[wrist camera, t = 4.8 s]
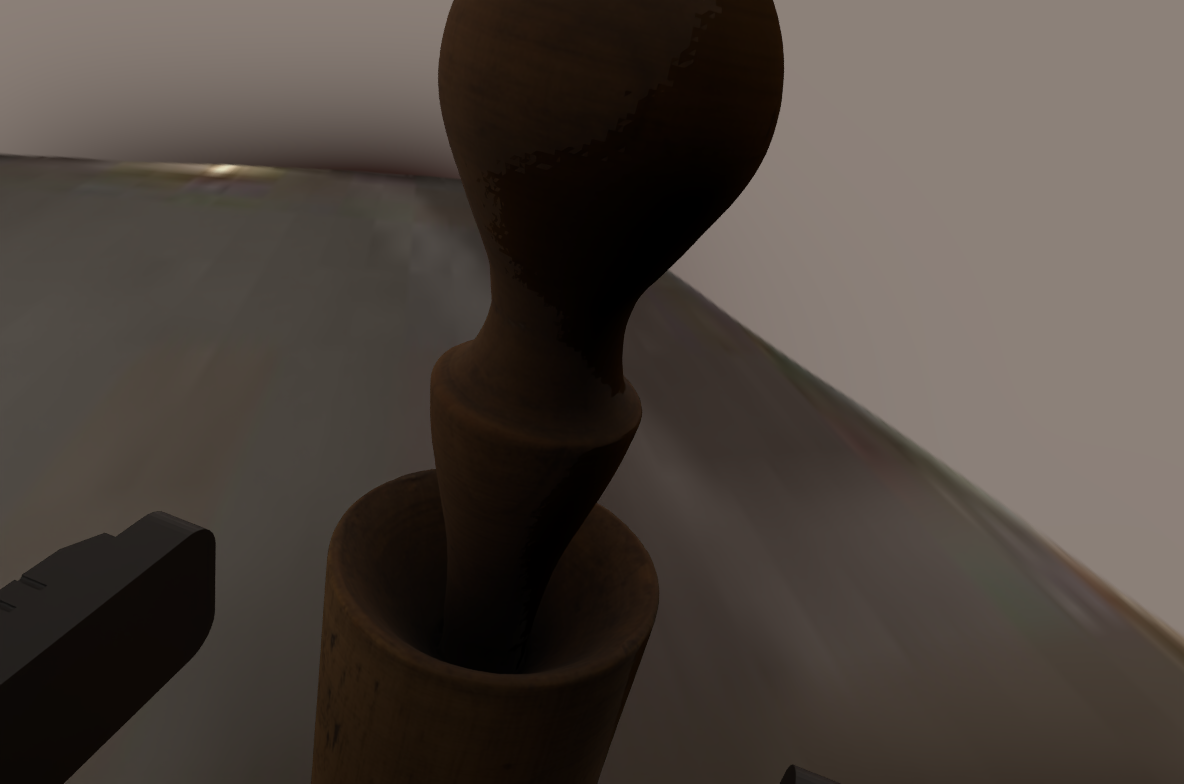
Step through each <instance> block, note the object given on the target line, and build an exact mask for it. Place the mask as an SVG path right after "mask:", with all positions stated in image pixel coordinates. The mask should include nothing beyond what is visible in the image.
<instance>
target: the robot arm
mask: <svg viewBox="0 0 1184 784" xmlns="http://www.w3.org/2000/svg"><path fill="white" fill-rule="evenodd" d="M215 548H216V544H215V537H214V535H213V533H212V532H211V531H210V530H207V529H205V528H202V527H200V526H197V525H195V524H192V523H190V522H187V521H185V520H182V519H180V518H177V517H175V516H172V515H170V514H167V513H165V512H162V511H157V512H152V513H150V514H148V515H146V516H145V517H143V518H142V519H140V520H139V521H137V522H136V523H134V524H133V525H132V526H130V527H129V528H127V529H126V530H125V531H123V532H122V533H120V534H119V535H118V536H116V537H114V536H112V535H109V534H107V533H103V534H100V535H98V536H95V537H92V538H89V539H87V540H84V541H81V542H78V543H76V544H73V545H70V546H67V547H65V548H62V549H59V550H58V551H56V552H55V553H53V554H52V555H51V556H49V557H48V558H46V559H45V560H43V561H42V562H40V563H39V564H37V565H36V566H34V567H33V568H31V569H30V570H28V571H27V572H25V573H24V574H22V577H21V579H20V580H19V581H16V580H14V581H12V582H11V583H9V584H8V585H6V586H5V587H3V588H2V589H0V784H64V783H65V782H66V781H67V780H68V779H69V778H70V777H71V776H72V775H73V774H74V773H75V772H76V771H77V770H78V769H79V768H80V767H81V766H82V765H83V764H84V763H85V762H86V761H87V760H88V759H89V758H90V757H91V756H92V755H93V754H94V753H95V752H96V751H97V750H98V749H99V748H100V747H101V746H103V745H104V744H105V743H106V742H107V741H108V740H109V739H110V738H111V737H112V736H113V735H114V734H115V733H116V732H117V731H118V730H119V729H120V728H121V727H122V726H123V725H124V724H125V723H126V722H127V721H128V720H129V719H130V718H131V717H132V716H133V715H134V714H135V713H136V712H137V711H138V710H139V709H140V708H141V707H142V706H143V705H144V704H146V703H147V702H148V701H149V700H150V699H151V698H152V697H153V696H154V695H155V694H156V693H157V692H158V691H159V690H160V689H161V688H162V687H163V686H164V685H165V684H166V683H167V682H168V681H169V680H170V679H171V678H172V677H173V676H174V675H175V674H176V673H177V672H178V671H179V670H180V669H181V668H182V667H183V666H184V665H185V664H186V663H188V662H189V661H190V660H191V658H192V657H193V656H194V655H195V654H196V653H197V652H198V650H199V649H200V647H201V646H202V644H203V643H204V641H205V639H206V638H207V636H208V633H209V631H210V629H211V626H212V623H213V620H214V614H215ZM780 784H840V783H838V782H835V781H833V780H830V779H828V778H825V777H823V776H820V775H818V774H815V773H813V772H810V771H808V770H805V769H803V768H800V767H798V766H795V765H790V766H789V768H788V769H787V770H786V772H785V774H784V776H783V778H782V780H781V782H780Z"/></svg>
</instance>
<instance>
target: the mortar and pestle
mask: <svg viewBox="0 0 1184 784" xmlns="http://www.w3.org/2000/svg"><path fill="white" fill-rule="evenodd" d="M783 79H784V54H783V42H782V36H781V30H780V25H779V20H778V16H777V12H776V9H775V5H774V2H773V0H454V1H453V3H452V6H451V9H450V12H449V15H448V18H447V22H446V26H445V30H444V34H443V38H442V43H441V50H440V58H439V68H438V86H439V99H440V105H441V111H442V116H443V121H444V125H445V129H446V133H447V136H448V140H449V144H450V147H451V150H452V153H453V156H454V159H455V162H456V165H457V168H458V171H459V174H460V177H461V181H462V184H463V187H464V189H465V192H466V195H467V198H468V201H469V204H470V207H471V210H472V213H473V216H474V218H475V221H476V223H477V226H478V229H479V232H480V235H481V238H482V240H483V243H484V246H485V249H486V252H487V255H488V259H489V263H490V277H491V294H492V301H491V306H490V310H489V313H488V316H487V318H486V321H485V323H484V325H483V327H482V329H481V330H480V332H479V334H478V335H477V337H476V338H475V340H471V341H467V342H465V343H462V344H460V345H457V346H455V347H453V348H451V349H449V350H448V351H447V352H445V353H444V354H443V355H442V356H441V357H440V358H439V359H438V361H437V362H436V364H435V366H434V368H433V371H432V374H431V386H430V418H431V433H432V443H433V450H434V456H435V465H436V469H431V470H425V471H420V472H416V473H411V474H407V475H404V476H401V477H399V478H397V479H395V480H392V481H389V482H386V483H384V484H382V485H380V486H378V487H377V488H375V489H373V490H371V491H370V492H368V493H367V494H365V495H364V496H363V497H361V498H360V499H359V500H357V501H356V502H355V503H354V504H353V505H352V506H351V507H350V508H349V509H348V510H347V511H346V513H345V514H344V515H343V516H342V518H341V520H340V521H339V523H338V525H337V526H336V528H335V530H334V532H333V535H332V538H331V541H330V545H329V550H328V557H327V568H326V582H325V597H324V610H323V625H322V639H321V655H320V668H319V683H318V697H317V711H316V723H315V738H314V752H313V767H312V780H311V784H597V782H598V779H599V776H600V773H601V770H602V767H603V764H604V762H605V759H606V756H607V753H608V750H609V747H610V744H611V741H612V739H613V736H614V733H615V730H616V727H617V724H618V722H619V719H620V716H621V714H622V711H623V708H624V705H625V703H626V700H627V697H628V695H629V692H630V689H631V686H632V684H633V681H634V678H635V675H636V672H637V670H638V667H639V664H640V662H641V659H642V656H643V653H644V650H645V647H646V645H647V642H648V639H649V636H650V633H651V631H652V628H653V625H654V622H655V618H656V614H657V610H658V604H659V585H658V578H657V574H656V571H655V568H654V565H653V562H652V560H651V557H650V555H649V554H648V552H647V550H646V549H645V548H644V546H643V544H642V543H641V542H640V540H639V539H638V538H637V536H636V535H635V534H634V533H633V532H632V531H631V530H630V529H629V528H628V526H626V525H625V524H624V523H623V522H622V521H621V520H620V519H618V518H617V517H616V516H615V515H614V514H613V513H612V512H610V511H609V510H607V509H606V508H604V507H603V506H601V505H599V504H598V503H597V501H598V500H599V498H600V497H601V495H602V494H603V492H604V490H605V489H606V487H607V486H608V484H609V482H610V481H611V479H612V477H613V476H614V474H615V473H616V471H617V469H618V467H619V465H620V463H621V462H622V460H623V458H624V456H625V454H626V452H627V450H628V448H629V446H630V444H631V442H632V440H633V438H634V436H635V433H636V431H637V429H638V427H639V424H640V421H641V417H642V407H641V402H640V398H639V396H638V394H637V392H636V391H635V389H634V388H633V386H632V385H631V383H630V382H629V381H628V380H627V379H626V378H625V377H624V376H623V366H622V352H623V341H624V334H625V329H626V325H627V322H628V319H629V317H630V314H631V312H632V310H633V308H634V306H635V304H636V302H637V300H638V299H639V298H640V296H641V295H642V294H643V293H644V292H645V291H646V289H647V288H648V287H650V286H651V285H652V284H653V283H654V282H655V281H657V280H658V279H659V278H660V277H661V276H662V275H663V274H664V273H665V272H666V271H667V270H668V269H669V268H670V267H671V266H672V265H673V264H674V263H675V262H676V261H677V260H678V259H679V258H681V257H682V256H683V255H684V253H685V252H686V251H687V250H688V249H689V248H690V247H691V246H692V245H693V244H694V243H695V242H696V241H697V240H698V239H699V238H700V237H701V235H703V234H704V232H705V231H706V230H707V229H708V228H709V227H710V226H711V225H712V224H713V223H714V222H715V221H716V220H717V219H718V218H719V217H720V216H721V215H722V214H723V213H724V212H725V211H726V210H727V209H728V208H729V207H730V206H731V204H732V203H733V202H734V201H735V200H736V199H737V197H738V196H739V195H740V194H741V193H742V191H743V190H744V189H745V187H746V186H747V185H748V183H749V182H750V180H751V179H752V177H753V176H754V175H755V173H756V171H757V170H758V168H759V166H760V164H761V163H762V160H763V158H764V157H765V155H766V153H767V150H768V148H769V145H770V142H771V140H772V137H773V134H774V131H775V127H776V124H777V120H778V115H779V112H780V107H781V101H782V92H783Z"/></svg>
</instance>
